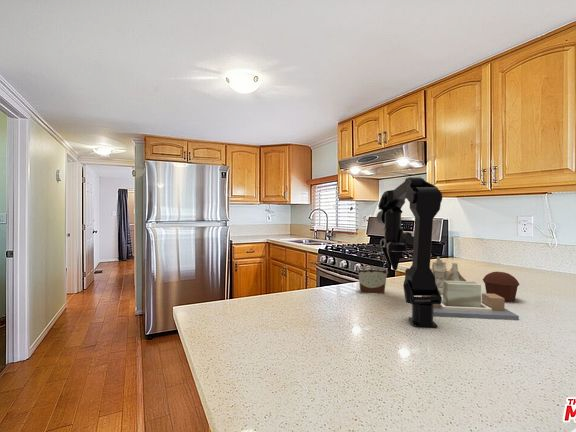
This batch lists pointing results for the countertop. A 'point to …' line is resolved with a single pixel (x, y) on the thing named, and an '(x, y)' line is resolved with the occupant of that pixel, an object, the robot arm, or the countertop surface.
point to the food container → (372, 279)
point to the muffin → (501, 285)
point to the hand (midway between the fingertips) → (392, 267)
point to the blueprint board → (477, 309)
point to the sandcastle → (445, 273)
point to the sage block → (461, 294)
